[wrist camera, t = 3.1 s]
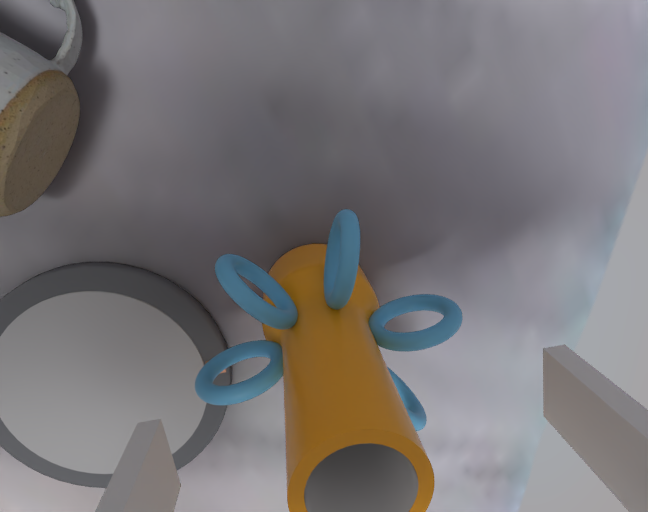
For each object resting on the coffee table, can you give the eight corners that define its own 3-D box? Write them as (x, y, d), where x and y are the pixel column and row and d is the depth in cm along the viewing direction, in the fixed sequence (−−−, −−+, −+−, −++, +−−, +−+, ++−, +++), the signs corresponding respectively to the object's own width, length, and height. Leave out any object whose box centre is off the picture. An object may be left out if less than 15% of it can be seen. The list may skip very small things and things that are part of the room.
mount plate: (29, 492, 28) (17, 510, 27) (-60, 286, 24) (-80, 296, 23) (251, 449, 29) (250, 464, 28) (201, 242, 25) (197, 248, 24)
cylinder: (173, 293, 26) (44, 513, 11) (293, 152, 24) (319, 200, 10) (332, 407, 29) (387, 690, 15) (447, 289, 27) (635, 476, 13)
